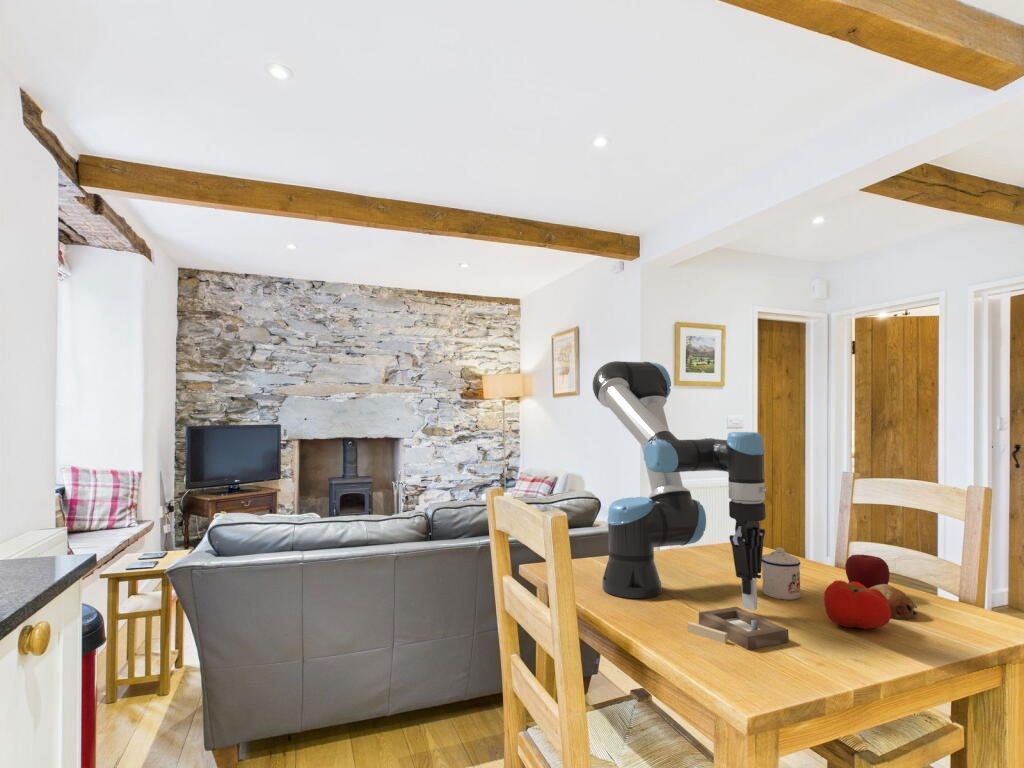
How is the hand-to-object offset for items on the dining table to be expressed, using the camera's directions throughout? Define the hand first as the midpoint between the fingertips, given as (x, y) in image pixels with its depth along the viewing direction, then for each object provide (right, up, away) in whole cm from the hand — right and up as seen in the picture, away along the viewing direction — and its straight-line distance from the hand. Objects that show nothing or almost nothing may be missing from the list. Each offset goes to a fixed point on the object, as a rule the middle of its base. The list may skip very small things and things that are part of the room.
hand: (749, 607), depth 124 cm
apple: (+38, -4, +18) cm, 42 cm away
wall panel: (-8, -2, -10) cm, 13 cm away
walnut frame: (-6, -1, -11) cm, 12 cm away
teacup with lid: (+17, -4, +19) cm, 25 cm away
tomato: (+22, -3, -3) cm, 22 cm away
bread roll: (+34, -3, +5) cm, 35 cm away
